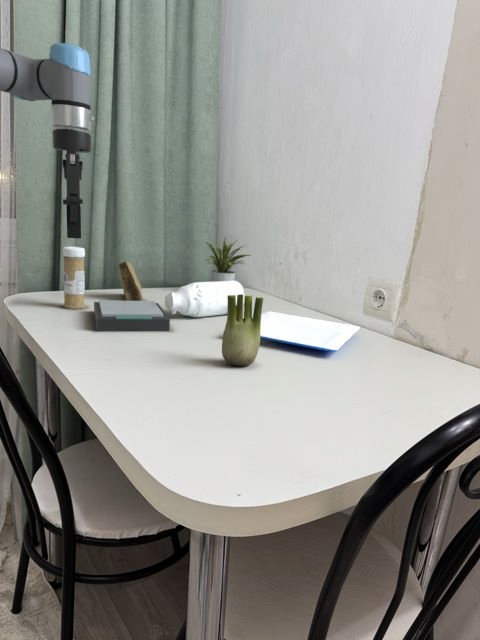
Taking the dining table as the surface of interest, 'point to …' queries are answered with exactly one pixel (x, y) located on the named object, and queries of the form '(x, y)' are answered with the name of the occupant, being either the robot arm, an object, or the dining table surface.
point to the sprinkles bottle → (74, 277)
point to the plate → (305, 331)
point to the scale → (130, 316)
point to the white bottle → (203, 298)
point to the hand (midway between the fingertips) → (74, 235)
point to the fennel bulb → (242, 330)
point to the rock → (130, 282)
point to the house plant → (224, 262)
